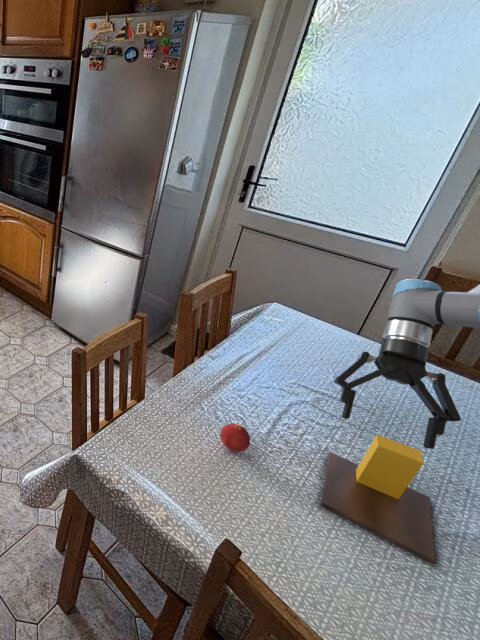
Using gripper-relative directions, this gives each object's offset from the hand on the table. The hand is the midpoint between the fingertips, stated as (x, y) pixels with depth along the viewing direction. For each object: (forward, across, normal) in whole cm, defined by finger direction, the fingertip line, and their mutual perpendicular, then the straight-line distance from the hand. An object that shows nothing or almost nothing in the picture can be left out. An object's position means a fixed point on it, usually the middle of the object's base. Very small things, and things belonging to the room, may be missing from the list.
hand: (385, 432), depth 91 cm
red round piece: (+18, +26, +7) cm, 32 cm away
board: (+16, +1, +5) cm, 16 cm away
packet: (+12, 0, +3) cm, 12 cm away
